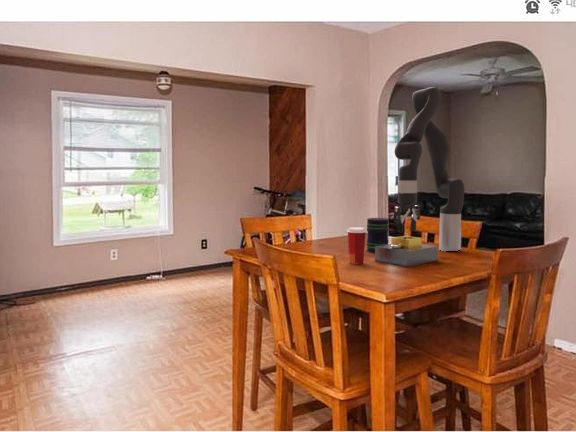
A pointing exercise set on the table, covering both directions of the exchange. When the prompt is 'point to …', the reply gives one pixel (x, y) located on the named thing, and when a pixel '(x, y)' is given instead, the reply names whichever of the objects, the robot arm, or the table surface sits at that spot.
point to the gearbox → (406, 252)
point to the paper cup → (356, 245)
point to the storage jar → (377, 233)
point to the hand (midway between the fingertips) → (406, 231)
